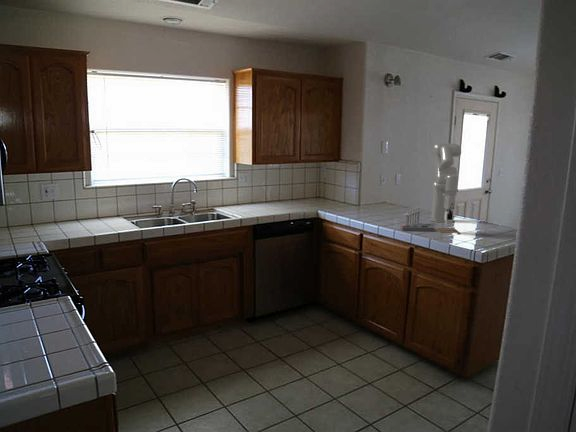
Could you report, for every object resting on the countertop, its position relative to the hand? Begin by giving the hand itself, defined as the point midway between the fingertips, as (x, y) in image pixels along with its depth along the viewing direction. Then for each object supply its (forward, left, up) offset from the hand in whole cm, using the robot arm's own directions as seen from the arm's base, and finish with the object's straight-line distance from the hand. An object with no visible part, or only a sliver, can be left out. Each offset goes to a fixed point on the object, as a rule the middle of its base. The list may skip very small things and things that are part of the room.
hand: (448, 218), depth 307 cm
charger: (0, 0, -4) cm, 4 cm away
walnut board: (0, 0, -10) cm, 10 cm away
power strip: (0, -21, -10) cm, 23 cm away
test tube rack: (-16, -21, -10) cm, 28 cm away
